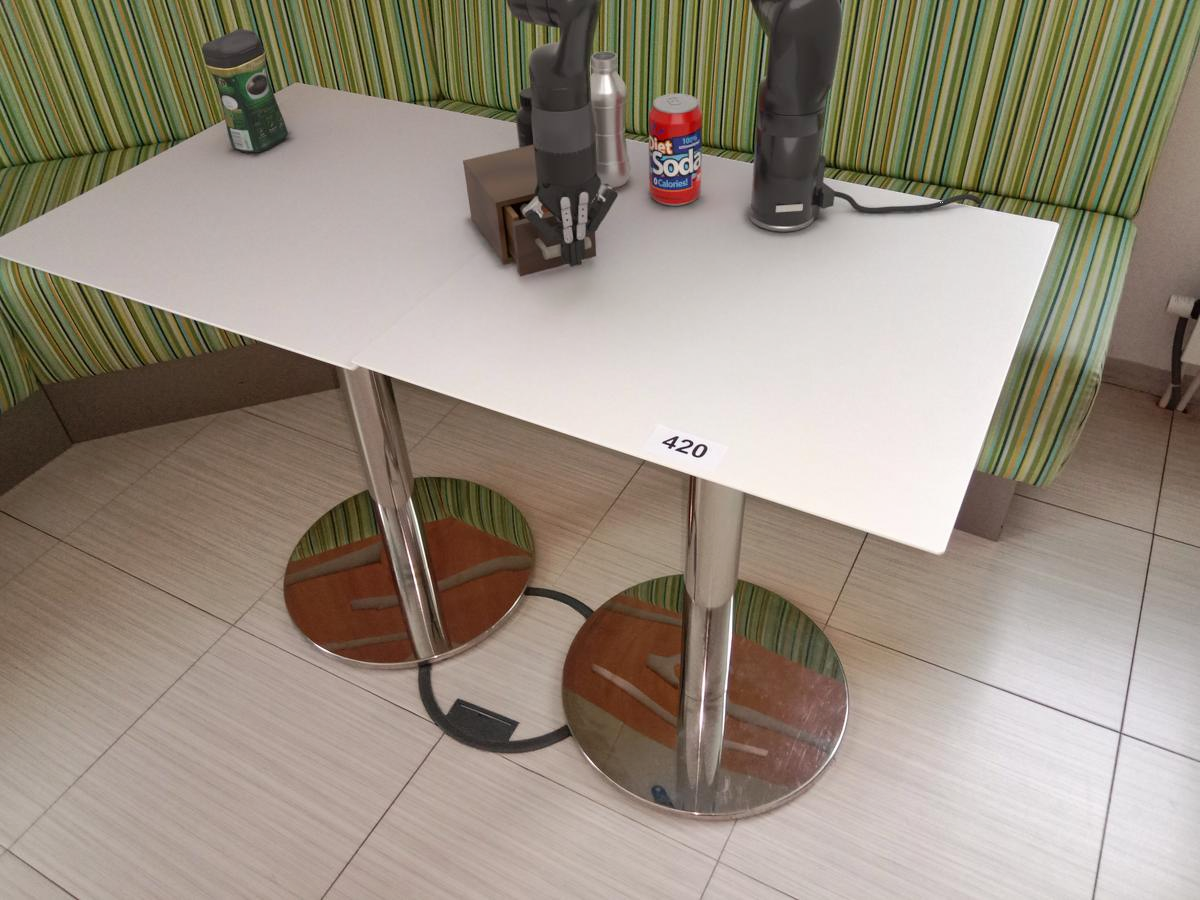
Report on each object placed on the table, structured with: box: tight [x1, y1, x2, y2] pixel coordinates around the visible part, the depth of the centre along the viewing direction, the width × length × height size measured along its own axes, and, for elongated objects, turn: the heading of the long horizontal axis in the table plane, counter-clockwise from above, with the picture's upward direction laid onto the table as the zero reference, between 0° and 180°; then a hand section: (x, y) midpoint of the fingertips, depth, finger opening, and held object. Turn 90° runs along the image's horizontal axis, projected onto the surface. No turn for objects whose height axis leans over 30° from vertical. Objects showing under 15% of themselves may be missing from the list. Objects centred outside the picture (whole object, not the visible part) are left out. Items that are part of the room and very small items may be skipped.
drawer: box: [502, 199, 597, 277], centre depth 134 cm, size 18×11×8 cm, turn 24°
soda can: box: [648, 93, 704, 207], centre depth 144 cm, size 8×8×15 cm
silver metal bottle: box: [590, 50, 632, 189], centre depth 147 cm, size 6×7×20 cm
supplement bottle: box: [515, 86, 534, 148], centre depth 156 cm, size 7×7×12 cm
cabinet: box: [462, 144, 537, 265], centre depth 140 cm, size 15×13×10 cm
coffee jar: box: [201, 28, 288, 154], centre depth 165 cm, size 10×8×19 cm
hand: (573, 262), depth 128 cm, fingers closed
